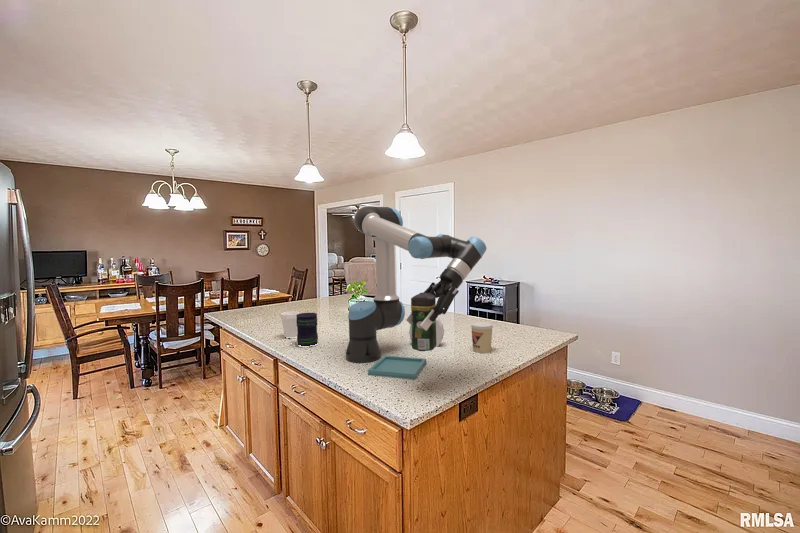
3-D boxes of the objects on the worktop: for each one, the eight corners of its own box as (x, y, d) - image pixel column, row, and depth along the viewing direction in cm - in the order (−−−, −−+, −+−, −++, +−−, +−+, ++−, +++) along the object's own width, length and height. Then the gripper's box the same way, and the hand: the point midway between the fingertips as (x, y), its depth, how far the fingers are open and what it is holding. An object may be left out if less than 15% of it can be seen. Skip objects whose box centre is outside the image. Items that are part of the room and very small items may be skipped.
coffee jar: (416, 343, 131) (415, 290, 129) (438, 344, 129) (437, 291, 127) (408, 351, 122) (408, 295, 120) (432, 353, 119) (432, 295, 118)
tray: (368, 374, 139) (368, 369, 139) (384, 359, 156) (384, 355, 156) (414, 379, 133) (414, 374, 133) (426, 363, 150) (426, 358, 150)
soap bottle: (409, 345, 177) (408, 303, 175) (411, 342, 182) (411, 302, 180) (442, 347, 172) (442, 304, 171) (444, 344, 178) (443, 303, 176)
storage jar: (292, 345, 179) (291, 315, 178) (308, 341, 187) (307, 311, 186) (306, 349, 174) (305, 317, 173) (322, 344, 182) (321, 313, 181)
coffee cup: (467, 349, 169) (467, 323, 168) (484, 346, 172) (484, 321, 172) (479, 354, 160) (479, 327, 159) (496, 352, 164) (497, 325, 163)
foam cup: (278, 339, 191) (277, 314, 190) (286, 335, 200) (285, 311, 199) (295, 340, 190) (294, 315, 189) (303, 335, 199) (302, 311, 198)
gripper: (481, 284, 121) (440, 339, 115) (443, 278, 140) (406, 325, 134) (468, 269, 118) (425, 324, 112) (431, 265, 137) (393, 312, 131)
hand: (415, 324), depth 123 cm, fingers closed on coffee jar, 9 cm apart
